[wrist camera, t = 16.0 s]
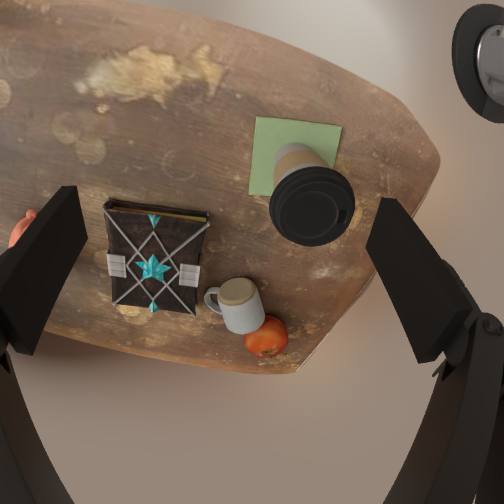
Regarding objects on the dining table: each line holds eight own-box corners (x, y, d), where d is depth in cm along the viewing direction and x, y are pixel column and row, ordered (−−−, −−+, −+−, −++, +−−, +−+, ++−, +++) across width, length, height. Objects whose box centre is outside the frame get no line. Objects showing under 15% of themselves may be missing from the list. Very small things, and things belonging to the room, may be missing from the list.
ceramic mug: (255, 270, 57) (257, 302, 51) (264, 301, 62) (266, 332, 56) (198, 280, 58) (194, 312, 52) (212, 309, 63) (209, 340, 57)
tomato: (253, 304, 63) (255, 336, 56) (294, 314, 65) (299, 345, 59) (236, 331, 68) (236, 362, 61) (274, 339, 70) (277, 369, 64)
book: (108, 196, 46) (97, 212, 42) (212, 209, 49) (210, 227, 45) (115, 292, 59) (109, 311, 55) (198, 304, 62) (196, 324, 58)
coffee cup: (333, 175, 46) (368, 233, 34) (276, 199, 48) (290, 264, 36) (312, 119, 40) (346, 160, 28) (249, 146, 42) (255, 197, 31)
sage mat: (340, 126, 41) (342, 127, 41) (325, 198, 49) (326, 200, 48) (256, 115, 40) (256, 116, 40) (248, 192, 48) (248, 194, 47)
